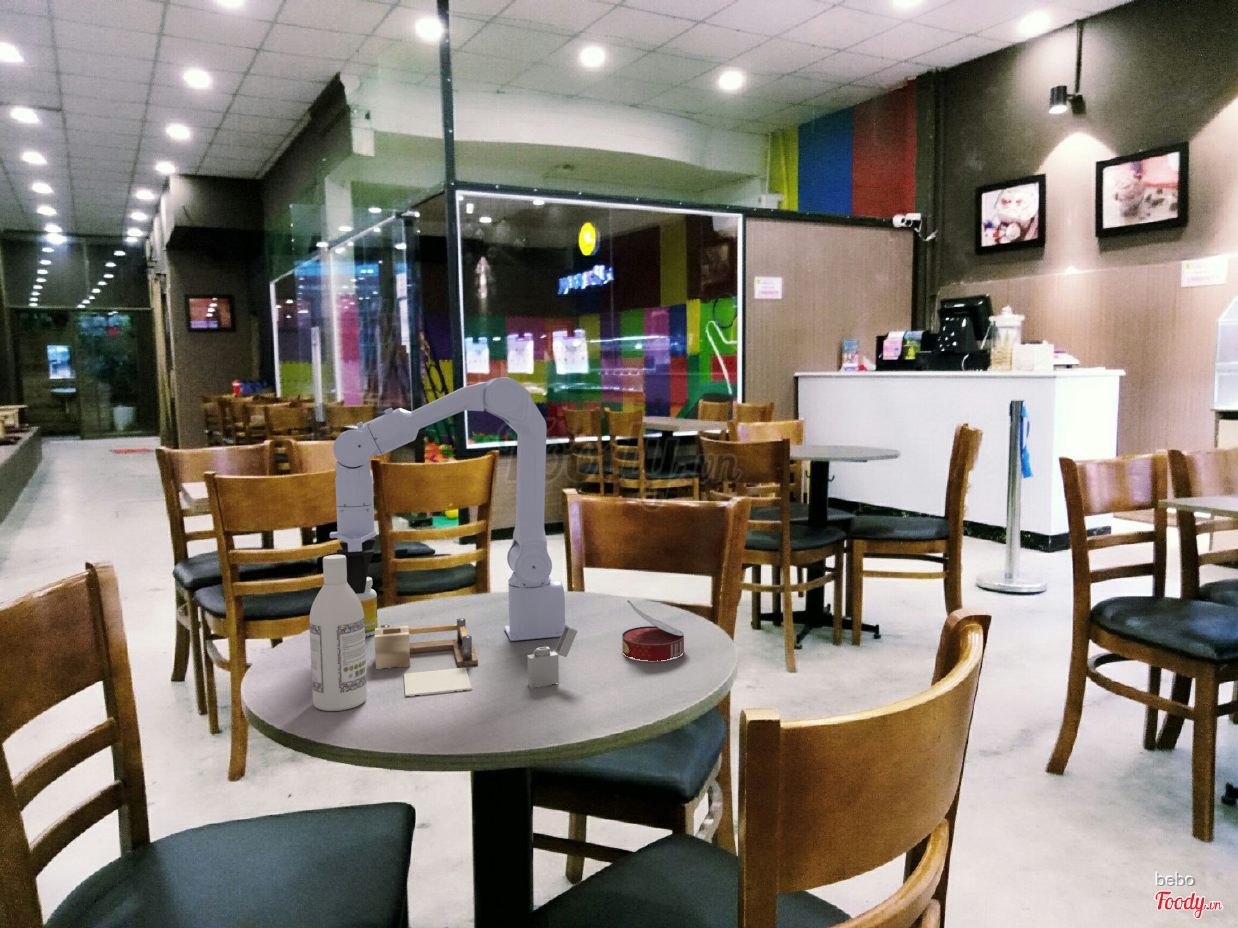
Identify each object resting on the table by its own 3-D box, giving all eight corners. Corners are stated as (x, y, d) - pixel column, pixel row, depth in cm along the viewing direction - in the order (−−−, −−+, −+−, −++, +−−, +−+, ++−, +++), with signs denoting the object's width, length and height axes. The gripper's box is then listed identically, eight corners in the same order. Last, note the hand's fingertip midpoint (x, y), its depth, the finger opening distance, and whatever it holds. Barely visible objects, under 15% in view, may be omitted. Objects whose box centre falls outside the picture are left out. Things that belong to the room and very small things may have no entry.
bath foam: (373, 693, 116) (368, 551, 114) (357, 712, 109) (351, 561, 107) (324, 693, 116) (318, 551, 114) (305, 712, 109) (298, 562, 107)
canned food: (636, 672, 138) (642, 612, 141) (692, 674, 133) (697, 612, 137) (604, 658, 129) (611, 594, 132) (663, 660, 124) (669, 594, 128)
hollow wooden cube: (409, 656, 132) (408, 625, 131) (410, 666, 127) (409, 634, 127) (376, 659, 131) (375, 628, 130) (375, 669, 126) (374, 637, 125)
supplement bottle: (340, 633, 145) (338, 578, 144) (370, 627, 148) (368, 574, 148) (352, 640, 141) (350, 584, 140) (383, 634, 144) (381, 579, 143)
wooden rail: (470, 642, 139) (469, 616, 138) (478, 665, 127) (477, 637, 127) (379, 650, 135) (378, 624, 135) (379, 675, 123) (378, 646, 123)
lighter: (531, 688, 117) (530, 632, 117) (527, 684, 119) (526, 629, 118) (578, 681, 120) (577, 626, 119) (574, 677, 122) (573, 623, 121)
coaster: (465, 669, 125) (465, 667, 125) (471, 690, 117) (471, 687, 117) (403, 675, 123) (403, 673, 123) (405, 697, 114) (405, 694, 114)
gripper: (331, 500, 140) (335, 579, 141) (325, 512, 126) (329, 600, 127) (375, 498, 142) (378, 576, 143) (374, 509, 128) (377, 596, 129)
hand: (358, 587), depth 135 cm, fingers open, 7 cm apart
